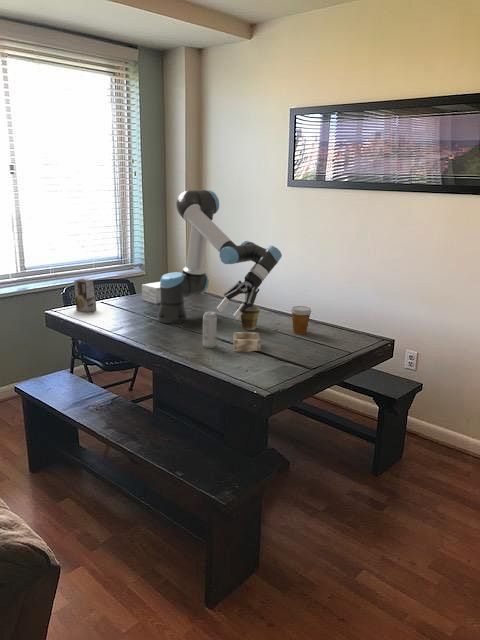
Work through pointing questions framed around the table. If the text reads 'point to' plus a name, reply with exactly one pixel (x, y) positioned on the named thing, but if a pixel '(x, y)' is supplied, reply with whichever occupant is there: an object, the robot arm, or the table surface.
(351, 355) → the table surface
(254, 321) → the ceramic cup
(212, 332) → the energy drink can
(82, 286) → the coffee box
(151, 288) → the supplement box
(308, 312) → the disposable coffee cup
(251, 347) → the wooden box
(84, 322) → the table surface
